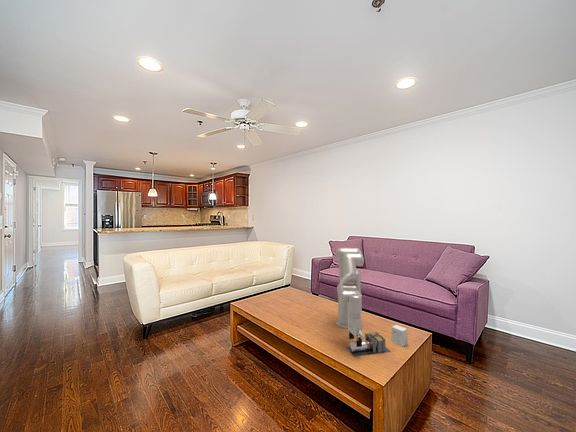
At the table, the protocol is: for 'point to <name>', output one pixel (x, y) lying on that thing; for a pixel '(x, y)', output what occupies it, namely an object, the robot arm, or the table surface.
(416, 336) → the table surface
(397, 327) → the small box
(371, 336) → the rail
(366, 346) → the tube
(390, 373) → the table surface
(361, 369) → the table surface
